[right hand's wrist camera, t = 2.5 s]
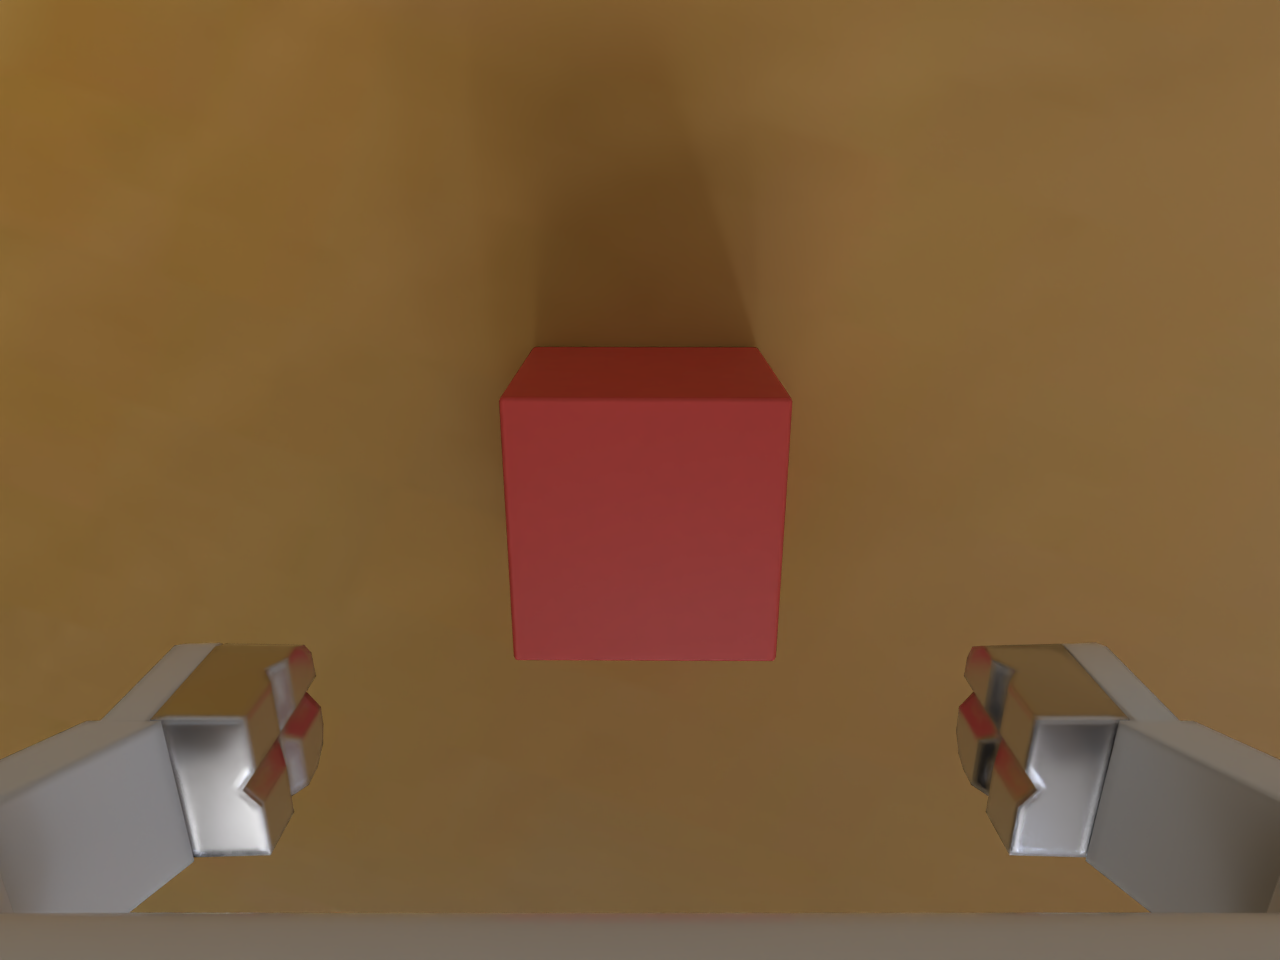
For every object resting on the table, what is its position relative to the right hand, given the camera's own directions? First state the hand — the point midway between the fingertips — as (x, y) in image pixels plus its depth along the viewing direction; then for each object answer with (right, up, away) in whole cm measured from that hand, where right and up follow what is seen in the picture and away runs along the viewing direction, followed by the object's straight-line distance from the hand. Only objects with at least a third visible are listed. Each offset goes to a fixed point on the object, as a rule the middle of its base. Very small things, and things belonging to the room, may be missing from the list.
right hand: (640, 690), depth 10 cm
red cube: (0, +3, +9) cm, 9 cm away
